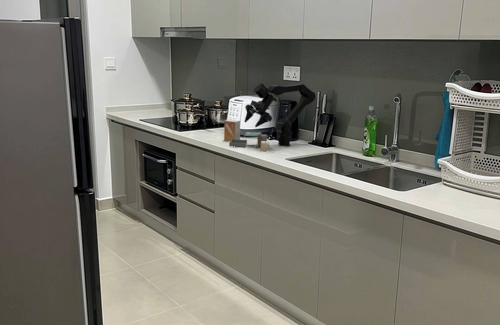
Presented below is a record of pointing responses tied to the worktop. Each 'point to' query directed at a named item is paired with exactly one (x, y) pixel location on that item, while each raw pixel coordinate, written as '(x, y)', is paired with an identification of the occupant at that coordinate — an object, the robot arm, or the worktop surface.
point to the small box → (231, 130)
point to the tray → (238, 143)
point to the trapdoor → (262, 137)
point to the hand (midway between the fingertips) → (250, 124)
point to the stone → (264, 146)
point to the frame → (259, 141)
